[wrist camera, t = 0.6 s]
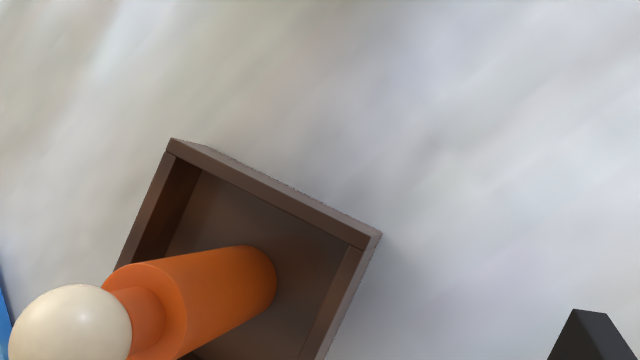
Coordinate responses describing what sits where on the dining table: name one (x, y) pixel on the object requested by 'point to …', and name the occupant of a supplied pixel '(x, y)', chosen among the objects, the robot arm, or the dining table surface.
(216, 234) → the crate
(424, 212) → the dining table surface
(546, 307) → the dining table surface
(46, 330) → the skittle
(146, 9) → the dining table surface
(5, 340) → the file sorter
